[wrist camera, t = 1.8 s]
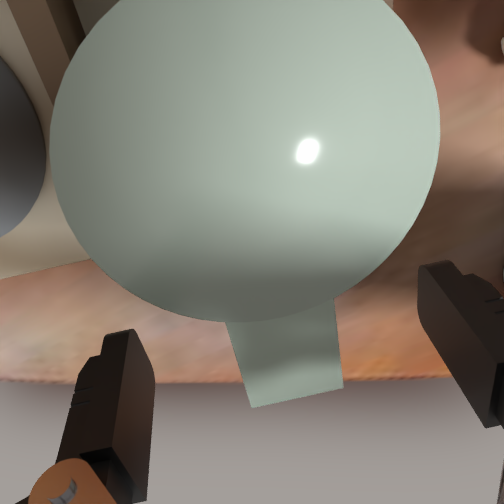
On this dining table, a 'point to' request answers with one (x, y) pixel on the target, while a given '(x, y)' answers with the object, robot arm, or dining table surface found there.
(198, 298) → the sage jug
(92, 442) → the robot arm
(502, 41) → the seated beast figurine
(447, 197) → the dining table surface
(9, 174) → the jug stand
